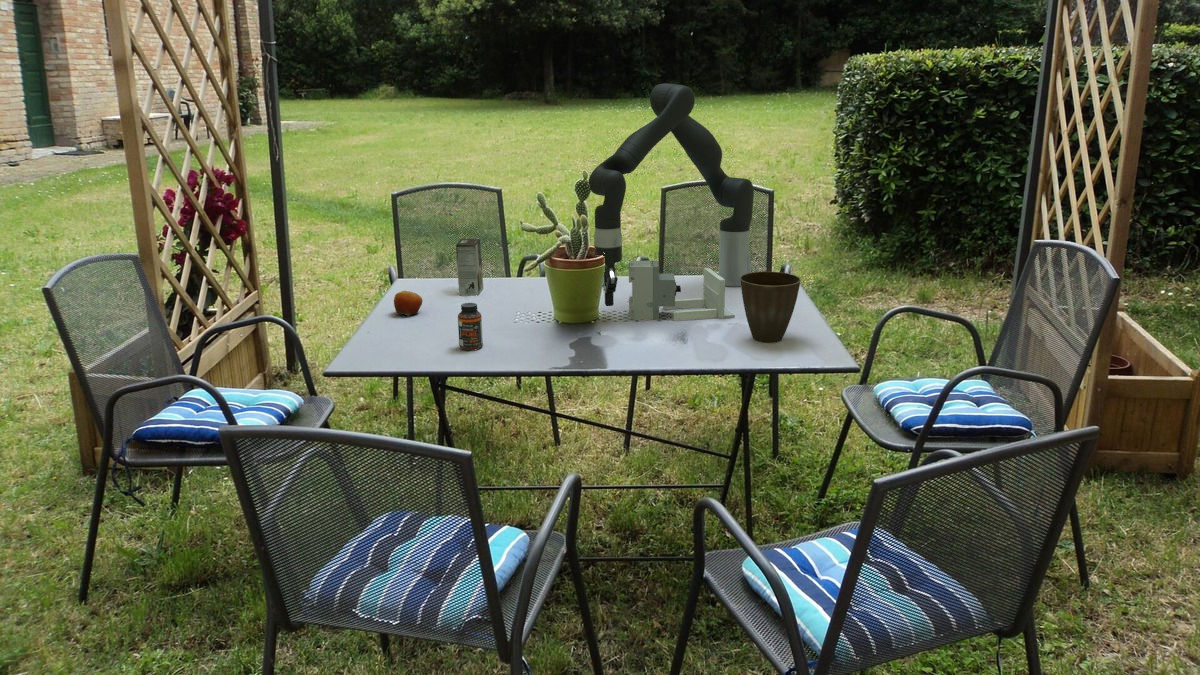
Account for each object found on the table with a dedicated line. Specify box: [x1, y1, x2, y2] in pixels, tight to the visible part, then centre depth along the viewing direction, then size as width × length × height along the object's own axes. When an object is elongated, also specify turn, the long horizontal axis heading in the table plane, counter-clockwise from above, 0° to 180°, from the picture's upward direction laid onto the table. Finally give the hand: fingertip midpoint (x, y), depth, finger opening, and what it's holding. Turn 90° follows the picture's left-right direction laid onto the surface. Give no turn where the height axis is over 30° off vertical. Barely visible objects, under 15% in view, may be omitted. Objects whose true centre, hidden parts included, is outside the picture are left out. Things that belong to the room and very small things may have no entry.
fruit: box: [393, 290, 423, 318], centre depth 264 cm, size 8×8×8 cm
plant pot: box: [740, 270, 801, 344], centre depth 234 cm, size 15×15×16 cm
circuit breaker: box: [628, 260, 682, 321], centre depth 257 cm, size 8×14×15 cm, turn 89°
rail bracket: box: [662, 267, 735, 322], centre depth 260 cm, size 17×15×11 cm
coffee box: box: [455, 238, 484, 297], centre depth 286 cm, size 9×6×16 cm
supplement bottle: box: [457, 302, 484, 351], centre depth 233 cm, size 6×6×11 cm
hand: (609, 305), depth 256 cm, fingers closed
